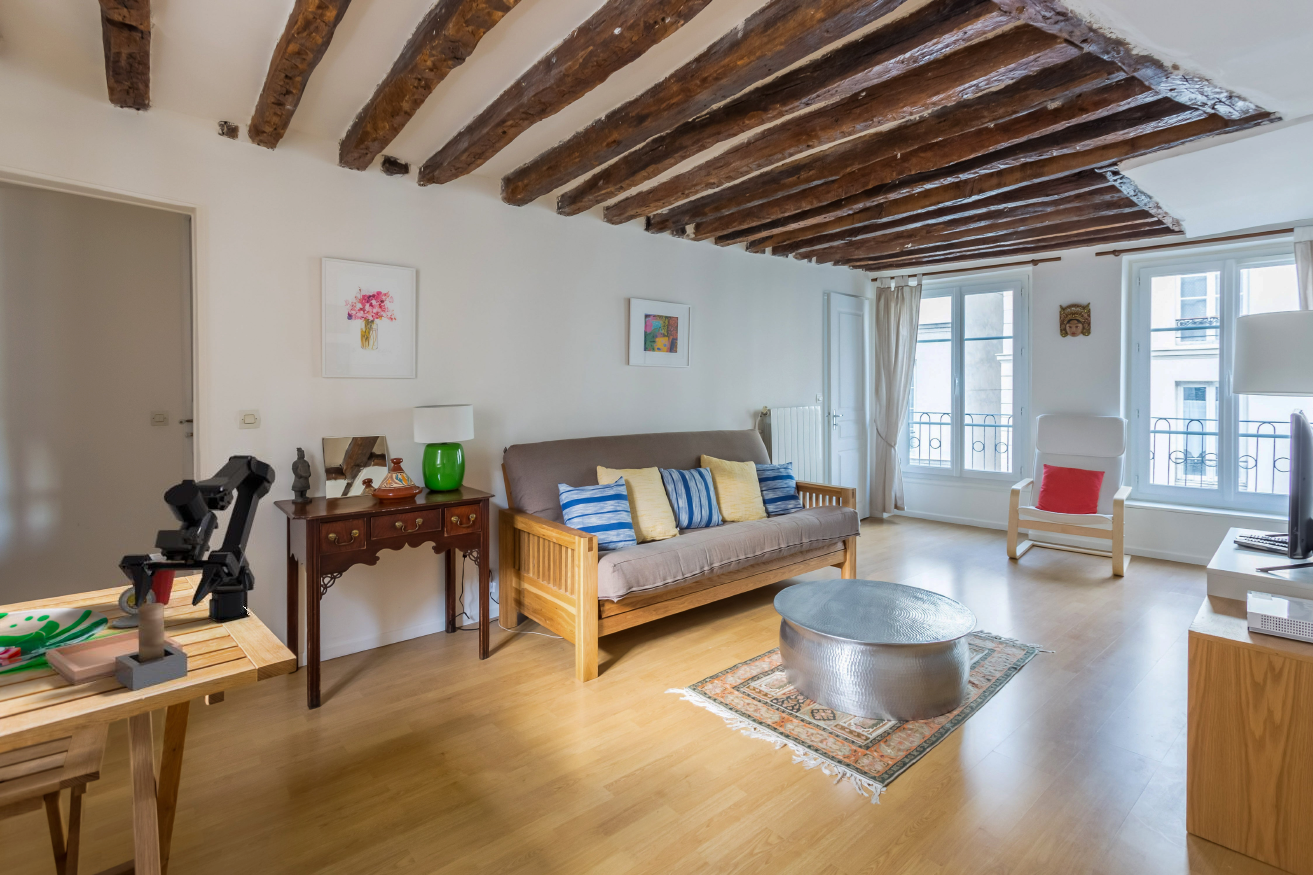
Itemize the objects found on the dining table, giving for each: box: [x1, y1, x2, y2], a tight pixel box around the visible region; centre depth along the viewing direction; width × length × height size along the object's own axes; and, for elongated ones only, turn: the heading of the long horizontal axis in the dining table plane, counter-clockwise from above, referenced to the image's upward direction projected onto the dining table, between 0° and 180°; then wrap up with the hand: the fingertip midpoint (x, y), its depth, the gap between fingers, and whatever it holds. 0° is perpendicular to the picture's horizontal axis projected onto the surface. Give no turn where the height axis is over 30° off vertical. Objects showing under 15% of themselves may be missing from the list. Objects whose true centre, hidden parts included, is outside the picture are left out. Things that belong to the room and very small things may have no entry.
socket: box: [115, 644, 188, 692], centre depth 115 cm, size 8×8×4 cm
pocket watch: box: [112, 580, 156, 628], centre depth 142 cm, size 8×8×10 cm
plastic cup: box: [131, 552, 176, 606], centre depth 154 cm, size 11×11×12 cm
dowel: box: [137, 603, 165, 663], centre depth 115 cm, size 4×4×13 cm
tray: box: [45, 629, 184, 687], centre depth 122 cm, size 16×16×2 cm
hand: (165, 605), depth 119 cm, fingers open, 9 cm apart
